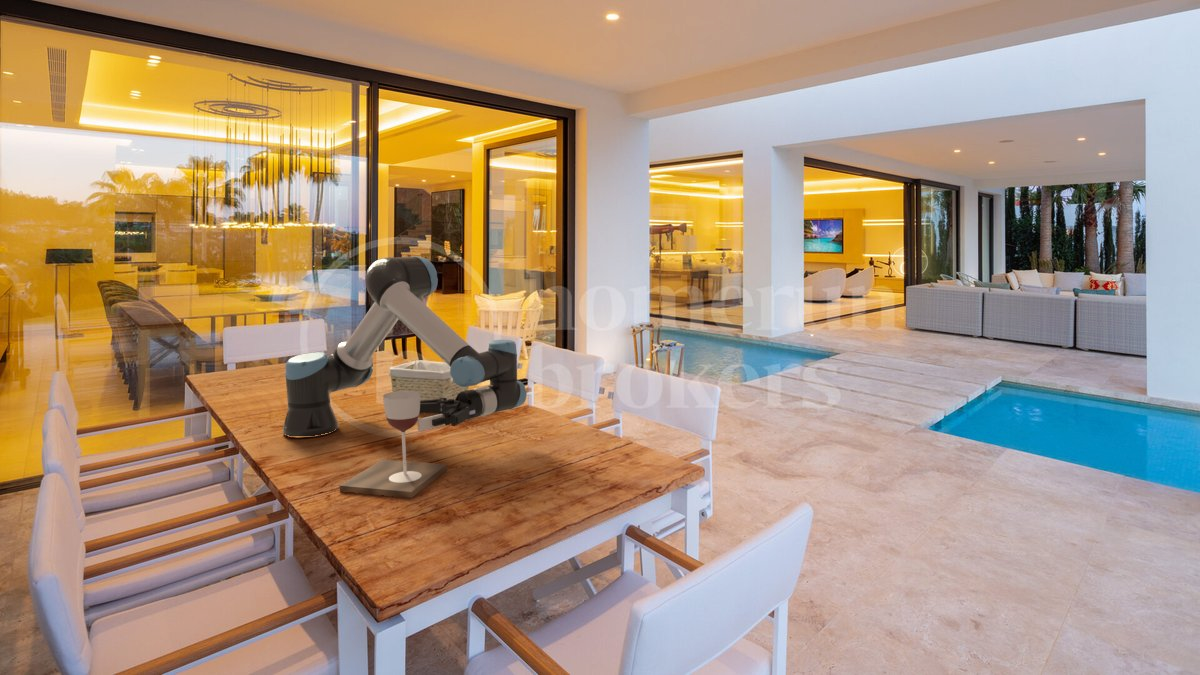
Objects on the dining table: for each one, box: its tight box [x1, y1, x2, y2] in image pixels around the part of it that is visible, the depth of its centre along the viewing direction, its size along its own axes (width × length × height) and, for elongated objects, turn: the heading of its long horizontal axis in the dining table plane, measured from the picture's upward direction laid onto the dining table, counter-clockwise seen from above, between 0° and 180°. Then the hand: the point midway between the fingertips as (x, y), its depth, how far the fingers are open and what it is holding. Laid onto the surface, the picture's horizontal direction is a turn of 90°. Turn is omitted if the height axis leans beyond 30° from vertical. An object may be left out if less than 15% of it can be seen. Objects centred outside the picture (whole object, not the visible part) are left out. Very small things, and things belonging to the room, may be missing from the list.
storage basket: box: [388, 359, 470, 411], centre depth 219 cm, size 24×16×15 cm
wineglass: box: [382, 391, 422, 483], centre depth 148 cm, size 8×9×20 cm
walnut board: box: [339, 458, 448, 499], centre depth 151 cm, size 18×18×2 cm
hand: (403, 419), depth 150 cm, fingers open, 13 cm apart
